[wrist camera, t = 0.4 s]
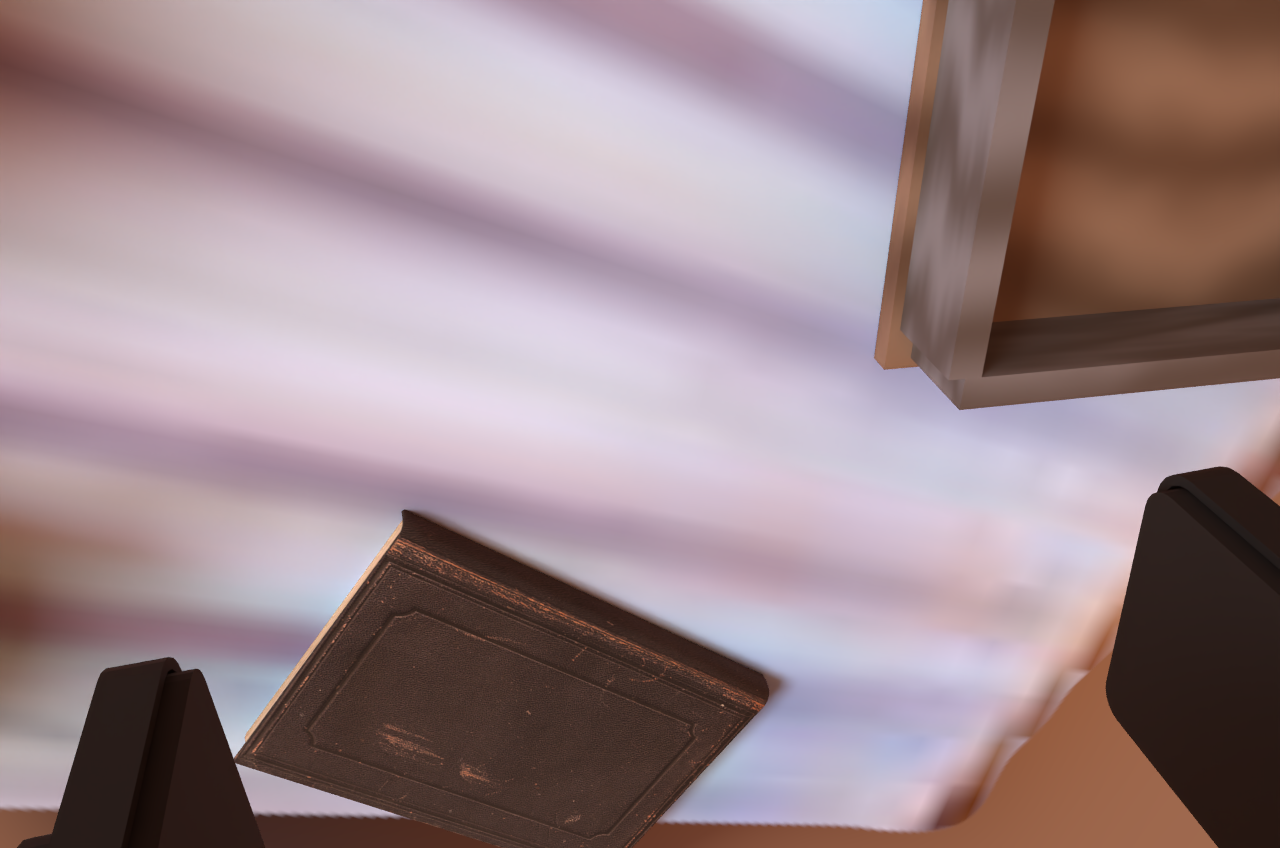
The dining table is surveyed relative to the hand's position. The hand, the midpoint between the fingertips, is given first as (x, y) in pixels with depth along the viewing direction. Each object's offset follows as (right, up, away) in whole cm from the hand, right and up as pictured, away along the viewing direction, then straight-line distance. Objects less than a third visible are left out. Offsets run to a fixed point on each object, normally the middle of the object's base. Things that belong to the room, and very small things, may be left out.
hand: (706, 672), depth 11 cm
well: (+22, +15, +39) cm, 47 cm away
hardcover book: (-8, -12, +48) cm, 50 cm away
